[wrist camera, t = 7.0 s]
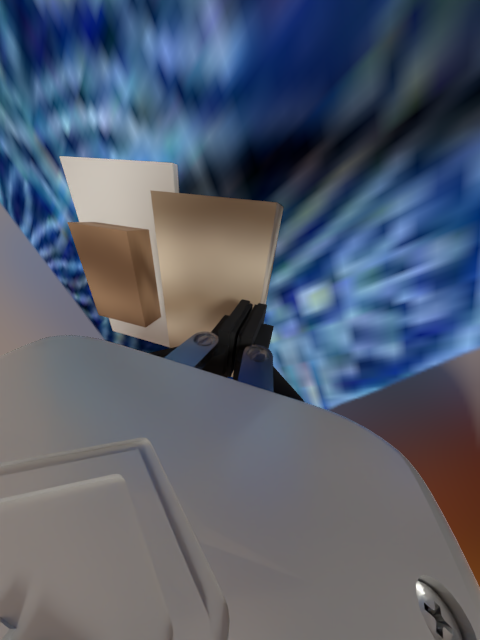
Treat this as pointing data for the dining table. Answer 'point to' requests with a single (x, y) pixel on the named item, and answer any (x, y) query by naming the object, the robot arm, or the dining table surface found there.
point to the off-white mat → (123, 211)
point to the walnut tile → (119, 270)
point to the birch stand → (212, 257)
